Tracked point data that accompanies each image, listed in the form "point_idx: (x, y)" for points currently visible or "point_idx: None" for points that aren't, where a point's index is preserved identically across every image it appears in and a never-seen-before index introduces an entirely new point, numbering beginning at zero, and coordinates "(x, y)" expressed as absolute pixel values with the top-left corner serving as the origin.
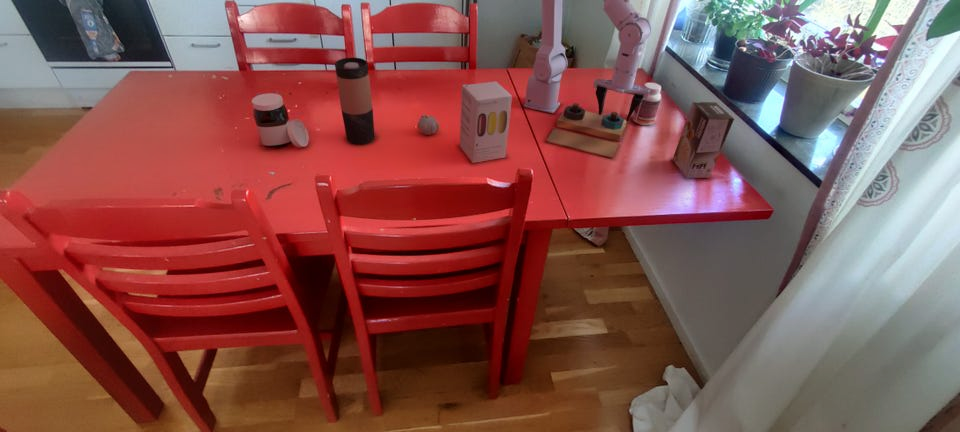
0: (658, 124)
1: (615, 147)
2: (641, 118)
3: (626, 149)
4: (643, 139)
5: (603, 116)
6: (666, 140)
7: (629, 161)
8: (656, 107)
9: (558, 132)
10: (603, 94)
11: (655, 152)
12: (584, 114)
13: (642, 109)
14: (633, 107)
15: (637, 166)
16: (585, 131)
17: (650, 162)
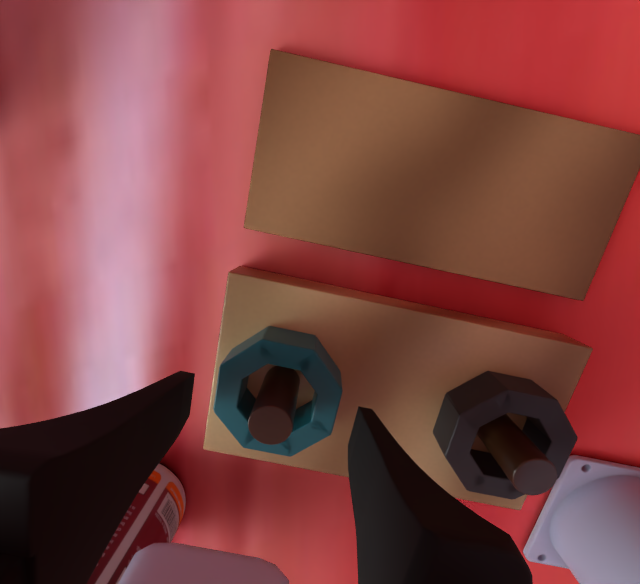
0: None
1: (256, 177)
2: None
3: (199, 192)
4: (124, 324)
5: (336, 414)
6: (18, 346)
7: (176, 53)
8: None
9: (566, 257)
10: (431, 531)
11: (54, 205)
12: (438, 435)
13: None
14: (88, 420)
15: (129, 5)
16: (417, 304)
17: (66, 81)
